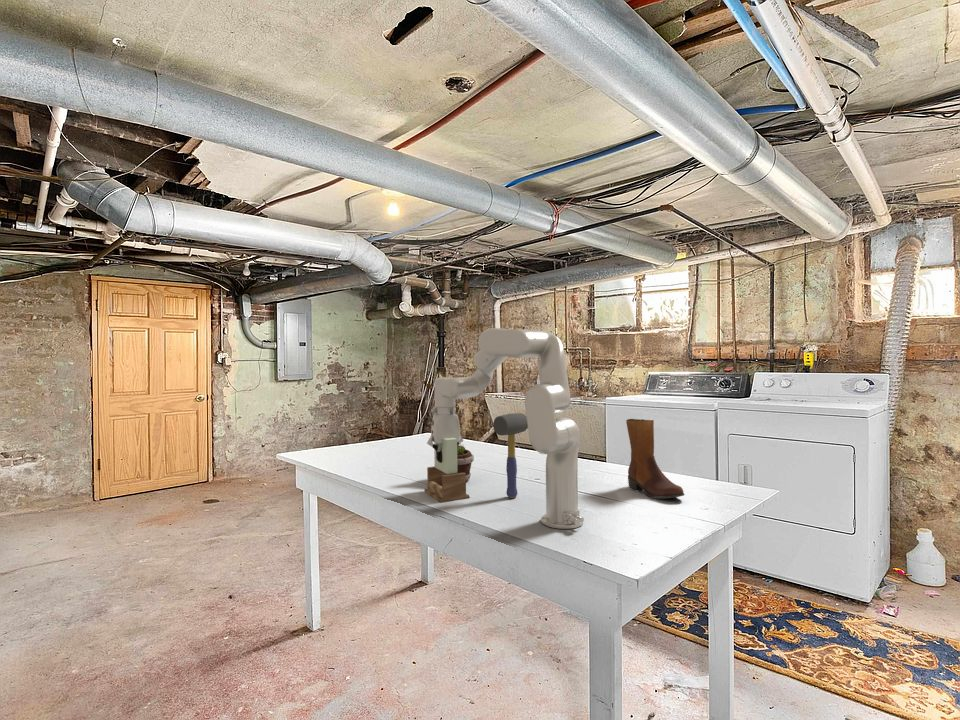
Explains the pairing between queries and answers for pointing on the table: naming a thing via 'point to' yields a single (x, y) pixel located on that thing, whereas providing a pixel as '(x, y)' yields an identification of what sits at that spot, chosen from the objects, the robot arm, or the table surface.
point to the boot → (647, 463)
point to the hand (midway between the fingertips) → (445, 460)
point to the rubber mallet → (511, 444)
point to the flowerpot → (464, 461)
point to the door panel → (447, 456)
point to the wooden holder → (446, 485)
